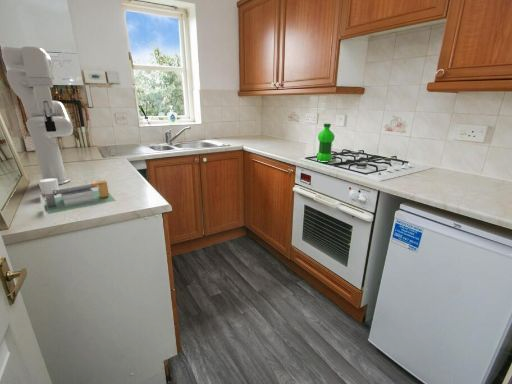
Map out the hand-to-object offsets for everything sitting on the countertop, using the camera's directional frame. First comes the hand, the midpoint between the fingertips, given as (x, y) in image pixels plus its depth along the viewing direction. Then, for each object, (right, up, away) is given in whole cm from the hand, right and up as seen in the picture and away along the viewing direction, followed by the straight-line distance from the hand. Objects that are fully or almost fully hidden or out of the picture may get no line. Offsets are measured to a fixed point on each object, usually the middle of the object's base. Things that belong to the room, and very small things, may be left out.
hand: (51, 131), depth 113 cm
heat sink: (+11, -29, -4) cm, 31 cm away
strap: (+13, -24, -4) cm, 27 cm away
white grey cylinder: (-5, -26, +7) cm, 28 cm away
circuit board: (+13, -29, -2) cm, 32 cm away
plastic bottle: (+129, -5, +73) cm, 148 cm away
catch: (+20, -26, +1) cm, 33 cm away
